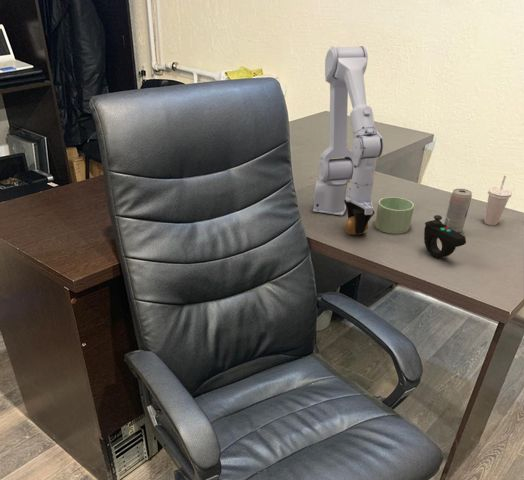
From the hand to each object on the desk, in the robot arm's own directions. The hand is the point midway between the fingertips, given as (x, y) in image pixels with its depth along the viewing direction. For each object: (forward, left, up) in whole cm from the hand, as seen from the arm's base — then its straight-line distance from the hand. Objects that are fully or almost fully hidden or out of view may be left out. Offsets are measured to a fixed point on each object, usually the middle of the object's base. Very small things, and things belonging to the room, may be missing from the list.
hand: (355, 228), depth 149 cm
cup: (+10, +8, -1) cm, 13 cm away
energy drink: (+27, +10, -2) cm, 29 cm away
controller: (+24, -7, -2) cm, 24 cm away
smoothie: (+38, +21, -2) cm, 43 cm away
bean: (0, 0, -1) cm, 1 cm away
